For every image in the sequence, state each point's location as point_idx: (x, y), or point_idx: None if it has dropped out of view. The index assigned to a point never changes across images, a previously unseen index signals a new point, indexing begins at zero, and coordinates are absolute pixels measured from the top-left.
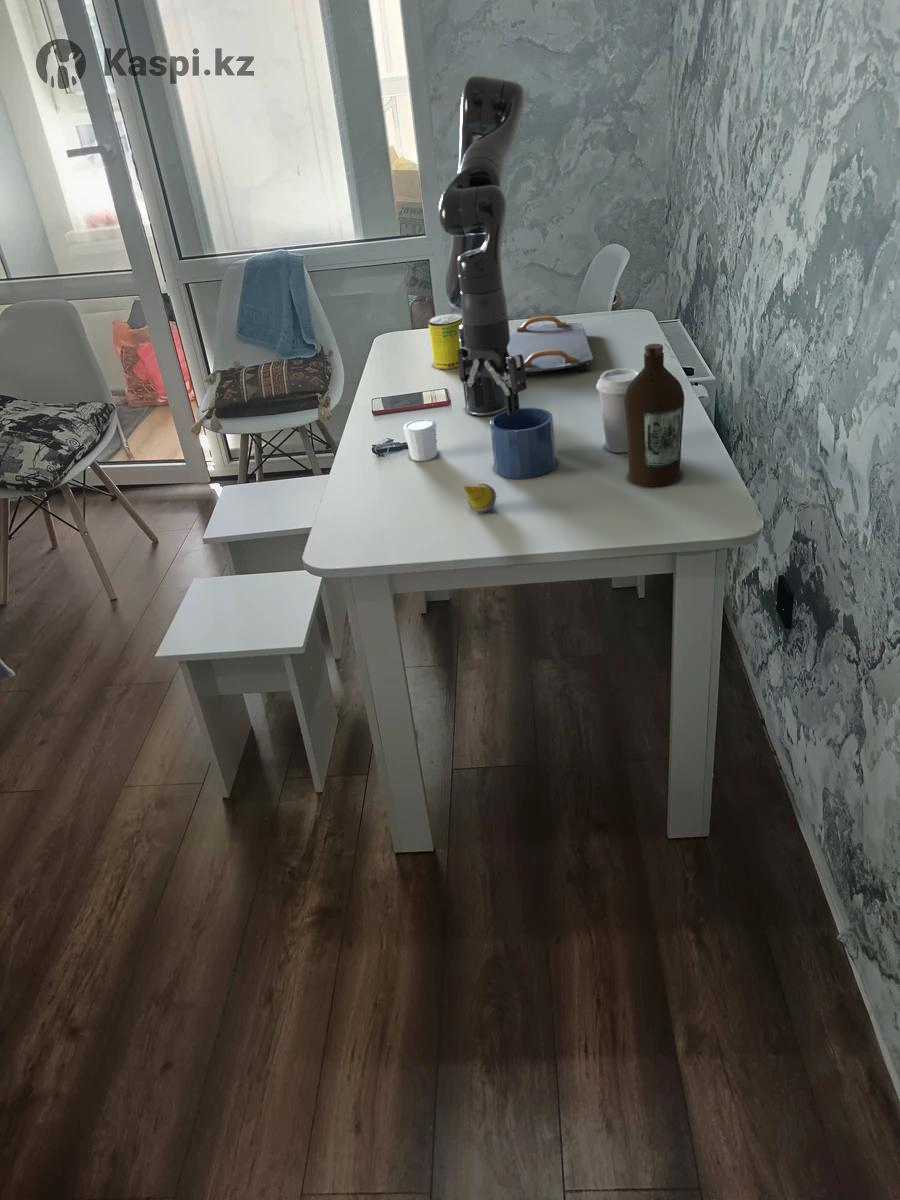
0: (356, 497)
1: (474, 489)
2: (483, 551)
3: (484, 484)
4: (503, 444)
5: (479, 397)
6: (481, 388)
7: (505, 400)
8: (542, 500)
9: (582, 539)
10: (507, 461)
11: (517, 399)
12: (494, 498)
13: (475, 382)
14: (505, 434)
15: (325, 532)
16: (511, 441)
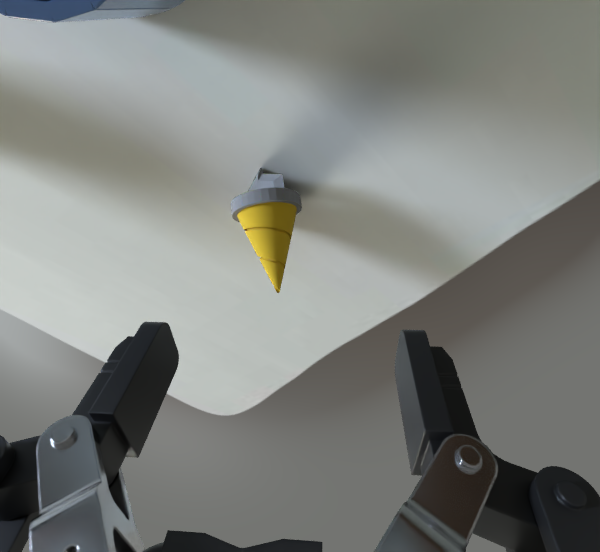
0: (39, 296)
1: (282, 260)
2: (397, 298)
3: (255, 203)
4: (102, 16)
5: (155, 377)
6: (126, 401)
7: (408, 444)
8: (358, 66)
9: (568, 165)
10: (143, 12)
11: (464, 411)
12: (298, 197)
13: (110, 472)
14: (93, 14)
15: None
16: (128, 1)
